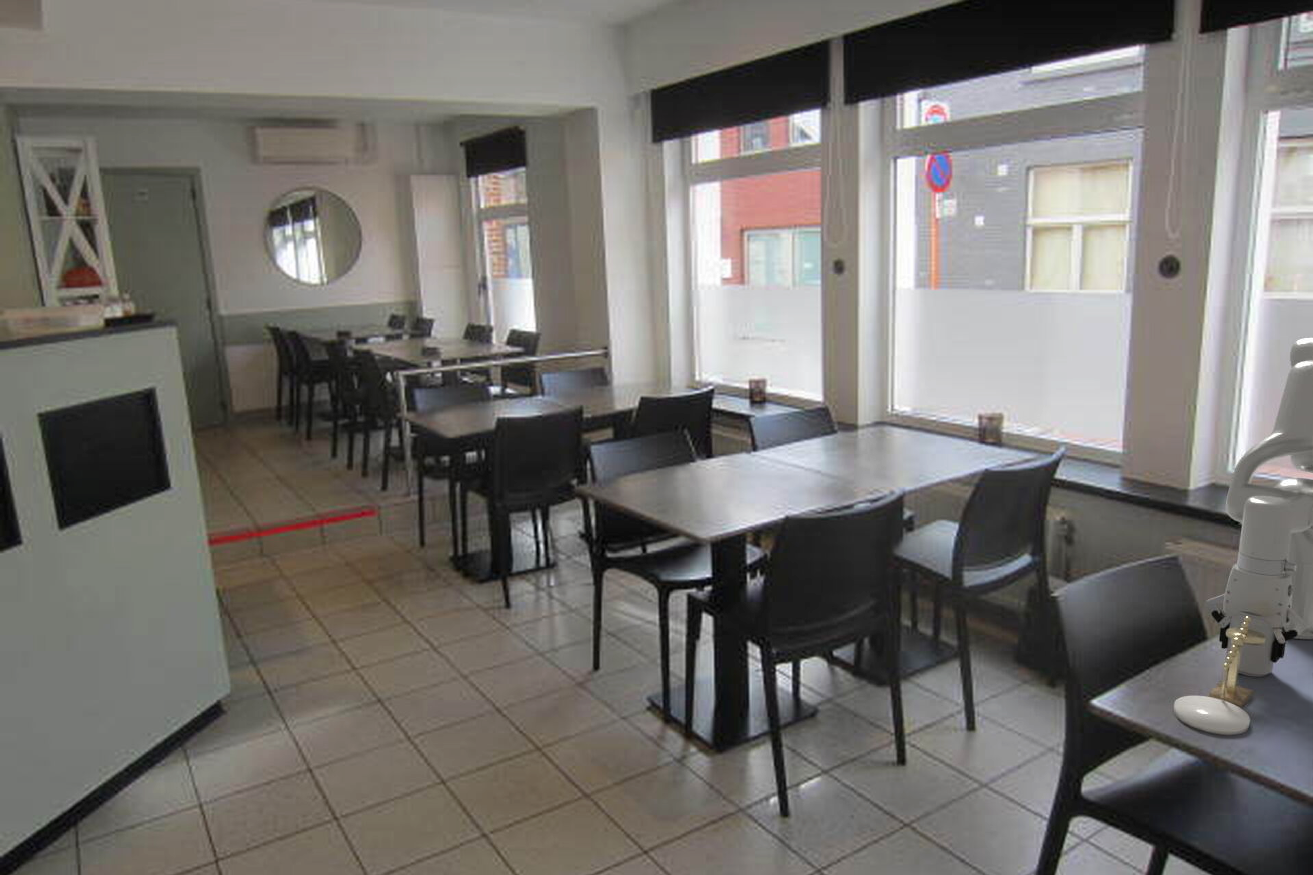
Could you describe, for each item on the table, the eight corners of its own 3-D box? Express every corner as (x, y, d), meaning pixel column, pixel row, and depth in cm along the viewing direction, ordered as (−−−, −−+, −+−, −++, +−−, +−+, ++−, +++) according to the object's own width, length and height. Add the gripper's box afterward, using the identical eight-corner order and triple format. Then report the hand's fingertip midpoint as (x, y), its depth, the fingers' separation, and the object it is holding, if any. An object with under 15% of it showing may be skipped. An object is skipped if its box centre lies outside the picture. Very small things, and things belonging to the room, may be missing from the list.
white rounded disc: (1186, 695, 164) (1187, 689, 163) (1257, 717, 156) (1258, 711, 156) (1163, 717, 156) (1164, 711, 156) (1237, 742, 148) (1238, 735, 148)
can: (1279, 680, 169) (1287, 618, 166) (1234, 676, 170) (1241, 616, 168) (1261, 662, 176) (1269, 603, 173) (1218, 659, 177) (1225, 600, 175)
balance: (1226, 676, 170) (1234, 607, 168) (1263, 687, 166) (1272, 616, 163) (1201, 701, 162) (1209, 629, 159) (1239, 713, 157) (1249, 639, 154)
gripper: (1323, 570, 165) (1310, 661, 169) (1215, 548, 177) (1205, 633, 181) (1313, 580, 160) (1299, 674, 164) (1202, 557, 172) (1192, 645, 176)
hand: (1250, 652), depth 172 cm, fingers closed on can, 7 cm apart
